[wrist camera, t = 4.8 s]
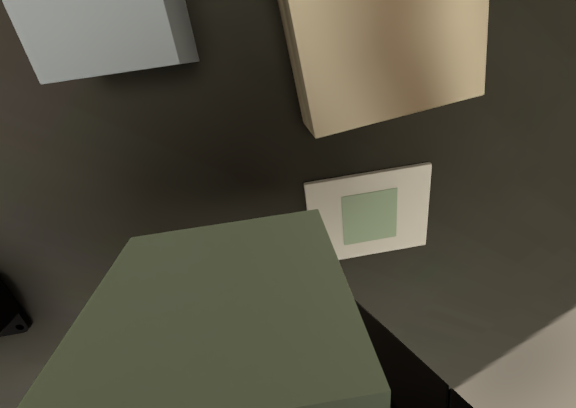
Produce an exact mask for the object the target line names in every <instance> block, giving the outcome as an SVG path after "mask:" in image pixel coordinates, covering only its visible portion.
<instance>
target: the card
mask: <svg viewBox="0 0 576 408" xmlns="http://www.w3.org/2000/svg"><path fill="white" fill-rule="evenodd" d="M431 170H432V164H431V163H430V162H425V163H419V164H413V165H407V166H401V167H395V168H389V169H383V170H377V171H371V172H365V173H359V174H353V175H347V176H341V177H335V178H329V179H323V180H317V181H311V182H305V183H304V192H305V200H306V208H307V211H308V210H314V209H318V210H319V213H320V215H321V218H322V220H323V223H324V225H325V228H326V230H327V233H328V235H329V238H330V240H331V243H332V245H333V248H334V250H335V253H336V255H337V258H338V260H341V259H347V258H352V257H358V256H364V255H369V254H375V253H381V252H386V251H392V250H398V249H403V248H409V247H415V246H420V245H426V234H427V221H428V208H429V196H430V183H431Z"/></svg>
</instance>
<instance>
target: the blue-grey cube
mask: <svg viewBox="0 0 576 408" xmlns="http://www.w3.org/2000/svg"><path fill="white" fill-rule="evenodd" d="M2 2H3V4H4V6H5V8H6V10H7V12H8V15H9V17H10V19H11V21H12V23H13V26H14V28H15V30H16V32H17V34H18V36H19V39H20V41H21V43H22V45H23V47H24V50H25V52H26V54H27V56H28V58H29V60H30V63H31V65H32V67H33V69H34V71H35V74H36V76H37V78H38V80H39V82H40V84H47V83H54V82H62V81H69V80H76V79H83V78H90V77H98V76H104V75H111V74H118V73H125V72H131V71H138V70H145V69H152V68H158V67H165V66H172V65H179V64H185V63H192V62H199V56H198V52H197V48H196V44H195V39H194V35H193V31H192V27H191V23H190V18H189V14H188V10H187V6H186V1H185V0H2Z"/></svg>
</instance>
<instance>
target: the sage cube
mask: <svg viewBox="0 0 576 408" xmlns="http://www.w3.org/2000/svg"><path fill="white" fill-rule="evenodd" d="M390 402H391V390H390V387H389V385H388V382H387V380H386V377H385V375H384V372H383V370H382V367H381V365H380V362H379V360H378V357H377V355H376V352H375V350H374V347H373V345H372V342H371V340H370V337H369V335H368V332H367V330H366V327H365V325H364V322H363V320H362V317H361V315H360V312H359V310H358V307H357V305H356V302H355V300H354V297H353V295H352V292H351V290H350V287H349V285H348V282H347V280H346V277H345V275H344V272H343V270H342V268H341V265H340V263H339V260H338V258H337V255H336V253H335V250H334V248H333V245H332V243H331V240H330V238H329V235H328V233H327V230H326V228H325V225H324V223H323V220H322V218H321V215H320V213H319V210H318V209H314V210H308V211H301V212H294V213H288V214H281V215H275V216H268V217H262V218H255V219H249V220H242V221H235V222H229V223H222V224H216V225H209V226H203V227H196V228H189V229H183V230H176V231H170V232H163V233H157V234H150V235H144V236H137V237H131V238H130V239H129V241H128V242H127V244H126V245H125V247H124V248H123V250H122V251H121V253H120V254H119V256H118V257H117V259H116V260H115V262H114V263H113V265H112V266H111V268H110V269H109V271H108V272H107V274H106V275H105V277H104V278H103V280H102V281H101V283H100V284H99V286H98V287H97V289H96V290H95V292H94V293H93V295H92V296H91V298H90V299H89V301H88V302H87V304H86V305H85V306H84V308H83V309H82V311H81V312H80V314H79V315H78V317H77V318H76V320H75V321H74V323H73V324H72V326H71V327H70V329H69V330H68V332H67V333H66V335H65V336H64V338H63V339H62V341H61V342H60V344H59V345H58V347H57V348H56V350H55V351H54V353H53V354H52V356H51V357H50V359H49V360H48V362H47V363H46V365H45V366H44V368H43V369H42V371H41V372H40V374H39V375H38V377H37V378H36V380H35V381H34V383H33V384H32V386H31V387H30V389H29V390H28V391H27V393H26V394H25V396H24V397H23V399H22V400H21V402H20V403H19V405H18V406H17V408H390Z"/></svg>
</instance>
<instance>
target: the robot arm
mask: <svg viewBox="0 0 576 408" xmlns="http://www.w3.org/2000/svg"><path fill="white" fill-rule="evenodd" d="M354 300H355V299H354ZM355 302H356V305H357V307H358V310H359V312H360V315H361V317H362V320H363V322H364V325H365V327H366V330H367V332H368V335H369V337H370V340H371V342H372V345H373V347H374V350H375V352H376V355H377V357H378V360H379V362H380V365H381V367H382V370H383V372H384V375H385V377H386V380H387V382H388V385H389V387H390V390H391V402H390V408H473V407H472V406H471V405H470V404H468V403H467V402H466V401H465V400H464V399H463V398H462V397H461V396H460V395H459V394H457V392H455V391H454V390H453V389H450V390H449V385H448V384H447V383H445V382H444V381H443V380H442V379H441V378H440V377H439V376H438V375H437V374H436V373H435V372H433V371H432V370H431V369H430V368H429V367H428V366H427V365H426V364H425V363H424V362H423V361H422V360H420V359H419V358H418V357H417V356H416V355H415V354H414V353H413V352H412V351H411V350H410V349H408V348H407V347H406V346H405V345H404V344H403V343H402V342H401V341H400V340H399V339H398V338H396V337H395V336H394V335H393V334H392V333H391V332H390V331H389V330H388V329H387V328H386V327H384V326H383V325H382V324H381V323H380V322H379V321H378V320H377V319H376V318H375V317H374V316H372V315H371V314H370V313H369V312H368V311H367V310H366V309H365V308H364V307H363V306H362V305H360V304H359V303H358V302H357V301H356V300H355ZM31 325H32V322H31V320H30V319H29V318H28V316H27V315H26V313H25V312H24V310H23V309H22V308H21V306H20V305H19V303H18V302H17V300H16V299H15V298H14V296H13V295H12V293H11V292H10V290H9V289H8V287H7V286H6V285H5V283H4V282H3V280H2V279H1V277H0V337H1V336H7V335H12V334H18V333H24V332H26V331H27V330H28V329H29V328H30V327H31Z"/></svg>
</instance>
